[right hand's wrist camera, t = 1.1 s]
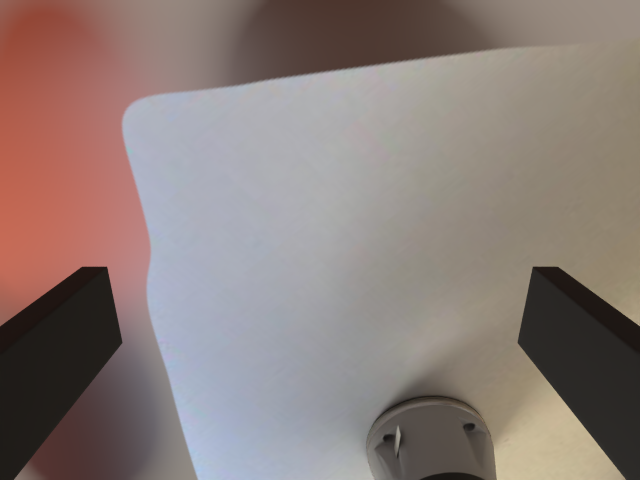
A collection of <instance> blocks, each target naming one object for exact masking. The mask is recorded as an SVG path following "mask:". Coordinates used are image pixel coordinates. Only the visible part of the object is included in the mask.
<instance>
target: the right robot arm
mask: <svg viewBox="0 0 640 480" xmlns="http://www.w3.org/2000/svg"><path fill="white" fill-rule="evenodd" d="M121 344H122V338H121V333H120V328H119V323H118V318H117V313H116V308H115V304H114V299H113V294H112V289H111V284H110V279H109V274H108V269H107V267H81V268H80V269H78V270H77V271H76V272H74V273H73V274H72V275H70V276H69V277H67V278H66V279H65V280H63V281H62V282H61V283H59V284H58V285H57V286H55V287H54V288H52V289H51V290H50V291H48V292H47V293H46V294H44V295H43V296H41V297H40V298H39V299H37V300H36V301H35V302H33V303H32V304H30V305H29V306H28V307H26V308H25V309H24V310H22V311H21V312H19V313H18V314H17V315H15V316H14V317H13V318H11V319H10V320H8V321H7V322H6V323H4V324H3V325H1V326H0V480H14V479H15V477H16V476H17V475H18V474H19V472H20V471H21V470H22V469H23V467H24V466H25V465H26V464H27V462H28V461H29V460H30V459H31V457H32V456H33V455H34V454H35V452H36V451H37V450H38V449H39V447H40V446H41V445H42V443H43V442H44V441H45V440H46V438H47V437H48V436H49V435H50V433H51V432H52V431H53V430H54V428H55V427H56V426H57V425H58V423H59V422H60V421H61V420H62V418H63V417H64V416H65V414H66V413H67V412H68V411H69V409H70V408H71V407H72V406H73V404H74V403H75V402H76V401H77V399H78V398H79V397H80V396H81V394H82V393H83V392H84V391H85V389H86V388H87V387H88V385H89V384H90V383H91V382H92V380H93V379H94V378H95V377H96V375H97V374H98V373H99V372H100V370H101V369H102V368H103V367H104V365H105V364H106V363H107V362H108V360H109V359H110V358H111V356H112V355H113V354H114V353H115V351H116V350H117V349H118V348H119V346H120V345H121ZM518 344H519V345H520V346H521V348H522V349H523V350H524V351H525V353H526V354H527V355H528V357H529V358H530V359H531V360H532V362H533V363H534V364H535V365H536V367H537V368H538V369H539V370H540V372H541V373H542V374H543V375H544V377H545V378H546V379H547V380H548V382H549V383H550V384H551V385H552V387H553V388H554V389H555V391H556V392H557V393H558V394H559V396H560V397H561V398H562V399H563V401H564V402H565V403H566V404H567V406H568V407H569V408H570V409H571V411H572V412H573V413H574V414H575V416H576V417H577V418H578V420H579V421H580V422H581V423H582V425H583V426H584V427H585V428H586V430H587V431H588V432H589V433H590V435H591V436H592V437H593V438H594V440H595V441H596V442H597V443H598V445H599V446H600V447H601V449H602V450H603V451H604V452H605V454H606V455H607V456H608V457H609V459H610V460H611V461H612V462H613V464H614V465H615V466H616V467H617V469H618V470H619V471H620V472H621V474H622V475H623V476H624V477H625V479H626V480H640V326H639V325H637V324H636V323H634V322H633V321H632V320H630V319H629V318H628V317H626V316H625V315H623V314H622V313H621V312H619V311H618V310H617V309H615V308H614V307H612V306H611V305H610V304H608V303H607V302H606V301H604V300H603V299H601V298H600V297H599V296H597V295H596V294H595V293H593V292H592V291H590V290H589V289H588V288H586V287H585V286H584V285H582V284H581V283H579V282H578V281H577V280H575V279H574V278H573V277H571V276H570V275H568V274H567V273H566V272H564V271H563V270H562V269H560V268H559V267H533V269H532V274H531V279H530V284H529V289H528V294H527V299H526V304H525V308H524V313H523V318H522V323H521V328H520V333H519V338H518ZM366 448H367V456H368V462H369V466H370V469H371V472H372V475H373V477H374V479H375V480H497V478H496V468H495V457H494V447H493V443H492V439H491V436H490V433H489V431H488V429H487V427H486V424H485V422H484V421H483V419H482V418H481V416H480V415H479V414H478V413H477V412H476V411H475V410H474V409H473V408H471V407H470V406H468V405H466V404H464V403H462V402H460V401H457V400H454V399H450V398H445V397H421V398H416V399H412V400H408V401H405V402H403V403H400V404H398V405H396V406H394V407H392V408H391V409H389V410H388V411H386V412H385V413H384V414H383V415H381V416H380V417H379V418H378V420H377V421H376V422H375V423H374V425H373V426H372V428H371V430H370V432H369V434H368V438H367V446H366Z"/></svg>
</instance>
